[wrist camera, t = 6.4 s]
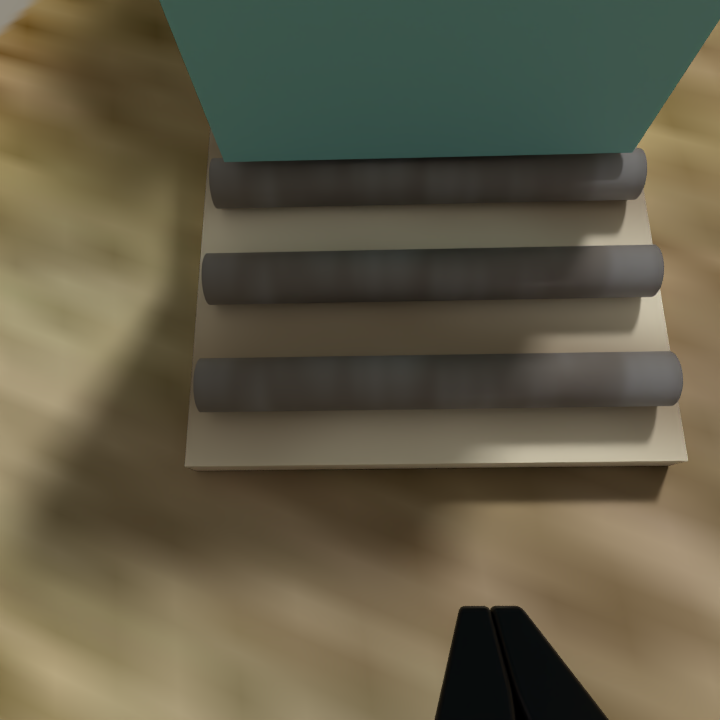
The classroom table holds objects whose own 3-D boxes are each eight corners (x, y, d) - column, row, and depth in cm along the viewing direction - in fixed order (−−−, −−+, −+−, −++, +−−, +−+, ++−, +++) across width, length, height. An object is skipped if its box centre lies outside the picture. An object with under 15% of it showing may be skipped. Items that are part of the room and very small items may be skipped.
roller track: (669, 465, 16) (827, 424, 11) (195, 470, 17) (100, 433, 11) (591, -41, 22) (669, -252, 16) (230, -30, 22) (179, -233, 16)
